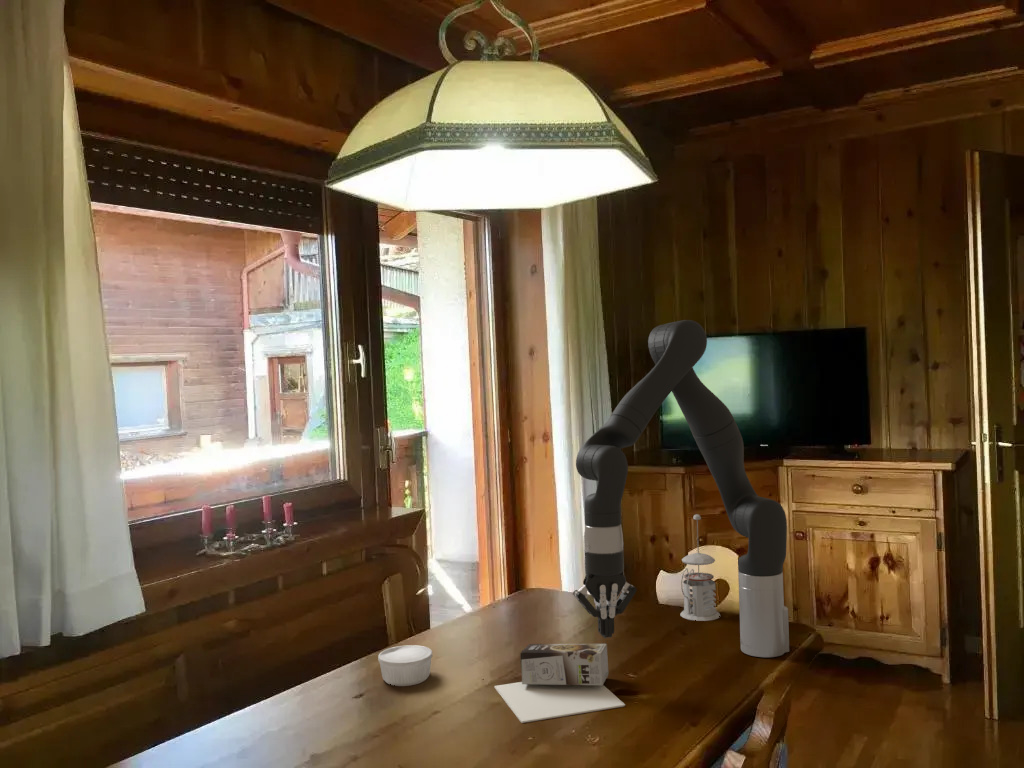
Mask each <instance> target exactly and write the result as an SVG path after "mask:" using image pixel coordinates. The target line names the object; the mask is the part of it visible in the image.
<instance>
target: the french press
mask: <svg viewBox="0 0 1024 768" xmlns="http://www.w3.org/2000/svg"><path fill="white" fill-rule="evenodd" d="M693 520H696V538H697V541H696V543H697V544H699V520H702V517H701V515H700V514H697V513H696V514H694V515H693ZM699 550H700V549H699V546H697V552H696V553H695V552H694V553H690V554H687V555H685V556H684V557H683V558H681V561H682V563H683V564H685V565H689V566H697V567H698V569H697V570H698V571H697V572H695V570H694V568H691V570H690V571H689V569H688V568H685V569H684V570H683V572H682V575H681V582H680V585H681V587H680V588H681V592H682V595H683V610H682V611H681V612H680V617H682V618H683V619H686V620H688V621H695V620H696V621H698V622H700V621H701V622H703V621H704V622H706V621H707V622H708V621H715V620H717V619H719V618H720V617H721V614H720V612H719V611H718V610H717V608H716V606H717V603H716V602H717V598H715V597H716V596H717V595H716V594H717V593H715V592H716V581H715V580H713V579H714V575H713V574H712V573H708V572H700V566H704V565H706V566H707V565H712V564H713V563H715V562H716V559H715V558H714V557H713V556H711V555H709V554H706V553H702V552H699ZM685 572H686V574H685ZM683 578H685V579H684V580H683ZM719 616H720V617H719Z"/></svg>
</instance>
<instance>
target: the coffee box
mask: <svg viewBox="0 0 1024 768" xmlns="http://www.w3.org/2000/svg"><path fill="white" fill-rule="evenodd" d="M519 653H520V654H519V657H520V659H519V660H520V663H519V664H520V673H521V682H522V684H534V685H600V686H602V685H604V683H605V682H606V679H607V678H608V676H609V661H608V660H609V659H608V644H607V643H530V644H528V645H527V646H526V647H524V648H523V649H522V650H521V651H520V652H519Z"/></svg>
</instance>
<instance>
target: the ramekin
mask: <svg viewBox="0 0 1024 768" xmlns="http://www.w3.org/2000/svg"><path fill="white" fill-rule="evenodd" d="M377 657H378V658H377V659H378V663H379V666H380V671H381V672H380V673H381V676H382V679H383V681H384V682H385V683H386V684H388V685H390V684H391V685H390V686H394V685H395V687H406V686H407V687H409V686H415V685H419V684H421V683H424V682H425V681H426V680H427V679H428V678H429V676H430V674H431V666H432V658H433V650H432V649H431V648H429V647H428V646H423V645H418V644H417V645H415V644H408V645H407V644H406V645H398V646H393V647H389V648H386V649H384V650H382V651H381V652H380V653H379V654H378V656H377Z"/></svg>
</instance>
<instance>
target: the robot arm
mask: <svg viewBox="0 0 1024 768" xmlns="http://www.w3.org/2000/svg"><path fill="white" fill-rule="evenodd" d="M647 343H648V345H647V347H648V351H649V354H650V357H651V359H652V361H653V362H654V364H655V365H654V367H652V368H651V370H650V371H649V372H648V373H646V375H645V376H644V377H642V379H641V380H639V381H638V382H637V383H636V384H635V385H634V386H633V387H632V388H630V390H628V391H627V392H626V394H624V396H623V397H622V399H621V400H620V401H619V403H618V404H617V406H616V407H615V408H614V410H613V411H612V413H611V415H609V418H608V419H607V421H606V422H605V423H604V424H603V425H602V426H600V428H598V429H597V430H596V431H595V432H594V433H593V434H592V435H591V436H590V437H589V438H588V439H587V440H586V441H585V442H584V444H583V445H581V447H580V448H579V450H578V453H577V455H576V457H575V458H576V459H575V467H576V468H575V469H576V471H577V472H578V474H579V476H581V477H582V478H584V479H586V480H588V481H597V486H596V489H595V492H594V493H591V494H588V495H587V496H586V497H585V499H584V533H583V545H584V547H583V548H584V550H583V551H584V573H585V574H584V575H585V576H584V579H583V581H582V582H583V585H582V586H581V587H579V589H574V590H573V591H572V592H573V593H572V595H573V596H574V597H575V598H576V599H577V601H578V602H579V604H580V605H582V607H583V609H585V611H587V614H589V615H591V616H592V617H593V618H597V632H598V633H599V634H600V636H601V637H603V639H605V638H606V639H609V638H612V637H613V635H614V633H615V617H616V616H617V615H621V614H623V613H624V611H625V610H626V608H627V607H628V605H629V604H630V602H631V600H632V599H633V597H634V595H635V594H636V593H637V588H636V586H634V585H633V584H630V583H629V582H628V581H627V577H626V575H625V573H624V570H625V565H624V564H625V562H624V561H625V560H624V557H625V556H624V535H623V533H624V532H623V528H622V508H621V505H622V500H623V499H622V498H623V496H624V492H625V487H626V483H627V482H626V481H627V478H628V472H629V471H628V470H629V465H628V464H629V463H628V460H627V456H626V454H625V453H624V451H623V449H624V448H628V447H632V446H633V445H635V443H637V441H638V440H639V439H640V437H641V436H642V434H643V432H644V431H645V430H646V428H647V426H648V424H649V422H650V421H651V420H652V418H653V417H654V415H655V414H656V412H657V411H658V409H659V408H660V406H662V404H663V403H664V401H665V400H666V398H668V396H669V395H670V394H671V393H672V394H673V396H674V398H675V400H676V402H677V404H678V407H679V408H680V410H681V412H682V414H683V416H684V418H685V420H686V421H685V422H686V423H687V424H688V427H689V429H690V432H691V434H692V436H693V438H694V441H695V442H696V446H697V447H698V449H699V451H700V453H701V456H702V457H703V459H704V462H706V465H707V467H708V469H709V470H708V471H709V472H710V473H711V476H712V477H713V479H714V482H715V484H716V487H717V489H718V492H719V494H720V498H721V501H722V503H723V505H724V508H725V511H726V514H727V517H728V520H729V522H730V524H731V527H732V528H733V529H734V530H735V532H737V534H739V535H741V536H743V537H745V538H748V546H747V547H748V548H747V553H746V554H743V555H741V556H740V557H739V558H738V561H737V570H738V571H737V573H738V575H737V576H738V578H737V579H738V580H737V581H738V604H739V606H738V607H739V634H740V635H739V636H740V637H739V639H740V640H739V642H740V651H741V652H742V653H744V654H746V655H748V656H752V657H758V658H775V657H776V658H777V657H780V656H783V655H784V654H785V653H788V652H790V638H789V637H790V635H789V634H790V633H789V631H790V630H789V609H788V607H787V606H785V604H784V603H785V602H784V600H785V599H784V598H785V597H784V573H783V572H784V571H783V570H784V569H783V568H784V563H785V560H786V557H787V538H788V537H787V534H788V525H787V517H786V512H785V510H784V508H783V506H782V505H781V503H780V502H778V501H777V500H775V499H772V498H767V497H762V496H759V495H758V494H757V493H756V491H755V489H754V486H753V485H752V484H751V482H750V480H749V478H748V476H747V472H746V470H745V469H746V468H745V461H744V459H745V455H744V454H745V453H744V452H745V449H744V448H745V447H744V440H743V436H742V433H741V432H740V429H739V427H738V424H737V423H736V420H735V418H734V416H733V414H732V411H730V409H729V408H728V406H727V405H726V404H725V403H724V402H723V401H722V400H721V399H720V398H719V397H718V396H717V395H715V393H714V392H712V391H711V390H710V389H709V388H708V387H707V386H706V385H705V384H704V383H703V382H702V380H701V379H700V378H699V376H698V375H697V373H696V371H695V370H694V366H695V365H697V363H698V362H699V361H700V360H701V358H702V357H703V355H704V354H705V352H706V349H707V345H708V337H707V334H706V331H705V329H704V328H703V326H702V325H701V324H700V323H699V322H696V321H695V320H691V319H683V320H677V321H671V322H667V323H663V324H659V325H657V326H656V327H654V328H653V329H651V331H650V333H649V336H648V339H647ZM588 593H589V594H588ZM589 595H591V597H592V598H593V601H594V604H595V607H594V606H593V605H592V603H591V601H590V600H588V598H589Z"/></svg>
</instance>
